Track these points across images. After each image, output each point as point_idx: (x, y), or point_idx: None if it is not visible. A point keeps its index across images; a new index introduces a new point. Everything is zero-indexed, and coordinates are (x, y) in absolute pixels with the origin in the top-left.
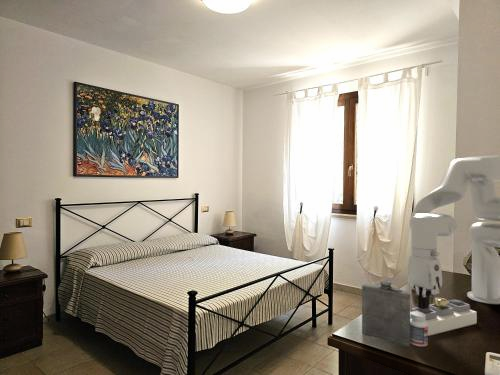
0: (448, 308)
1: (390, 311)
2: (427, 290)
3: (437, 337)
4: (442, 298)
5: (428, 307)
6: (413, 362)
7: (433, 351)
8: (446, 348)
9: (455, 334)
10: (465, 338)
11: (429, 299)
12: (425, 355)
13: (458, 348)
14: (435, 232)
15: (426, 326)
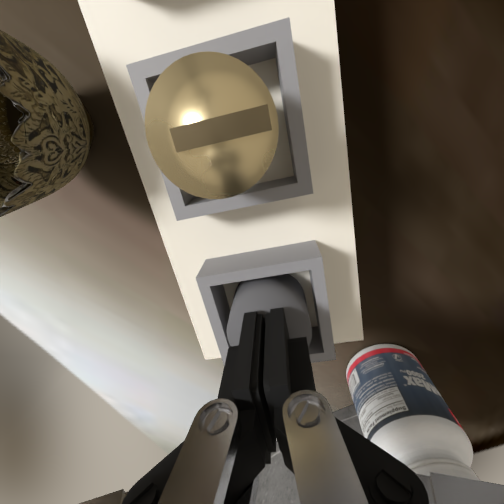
0: (245, 56)
1: None
2: (297, 481)
3: (372, 270)
4: (184, 84)
5: (283, 310)
6: (478, 451)
7: (459, 363)
8: (467, 304)
9: (380, 154)
10: (440, 134)
11: (44, 114)
12: (466, 401)
13: (495, 257)
14: None
15: (470, 443)
